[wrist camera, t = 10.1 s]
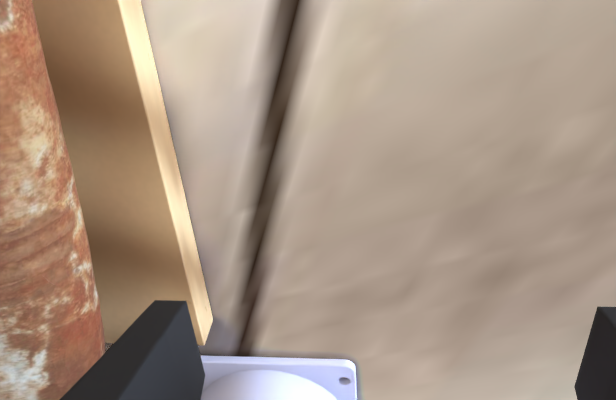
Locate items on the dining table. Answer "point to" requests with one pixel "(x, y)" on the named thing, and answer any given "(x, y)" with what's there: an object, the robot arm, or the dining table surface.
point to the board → (122, 160)
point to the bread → (39, 230)
